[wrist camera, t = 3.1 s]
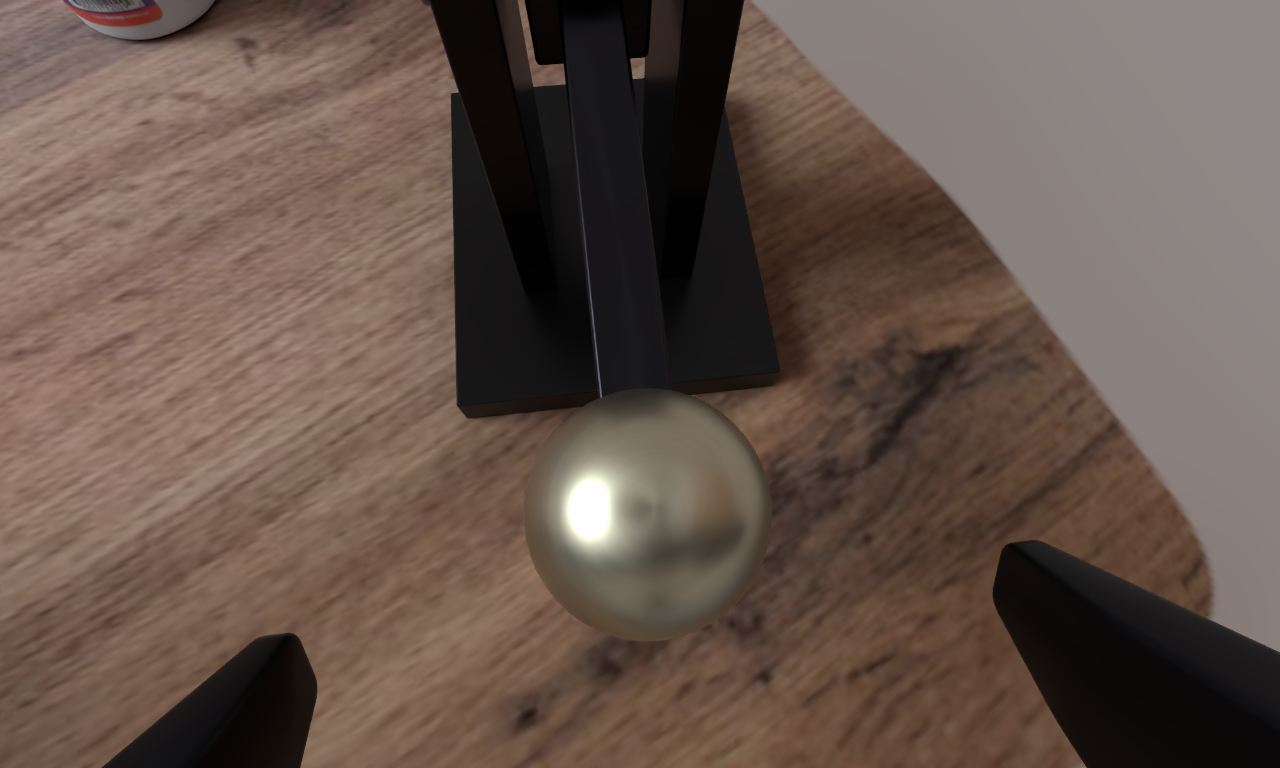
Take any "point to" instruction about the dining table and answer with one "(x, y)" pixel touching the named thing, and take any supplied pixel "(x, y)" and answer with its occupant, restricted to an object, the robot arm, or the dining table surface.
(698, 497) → the lever
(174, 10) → the pill bottle
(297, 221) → the dining table surface
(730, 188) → the bracket
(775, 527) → the dining table surface
